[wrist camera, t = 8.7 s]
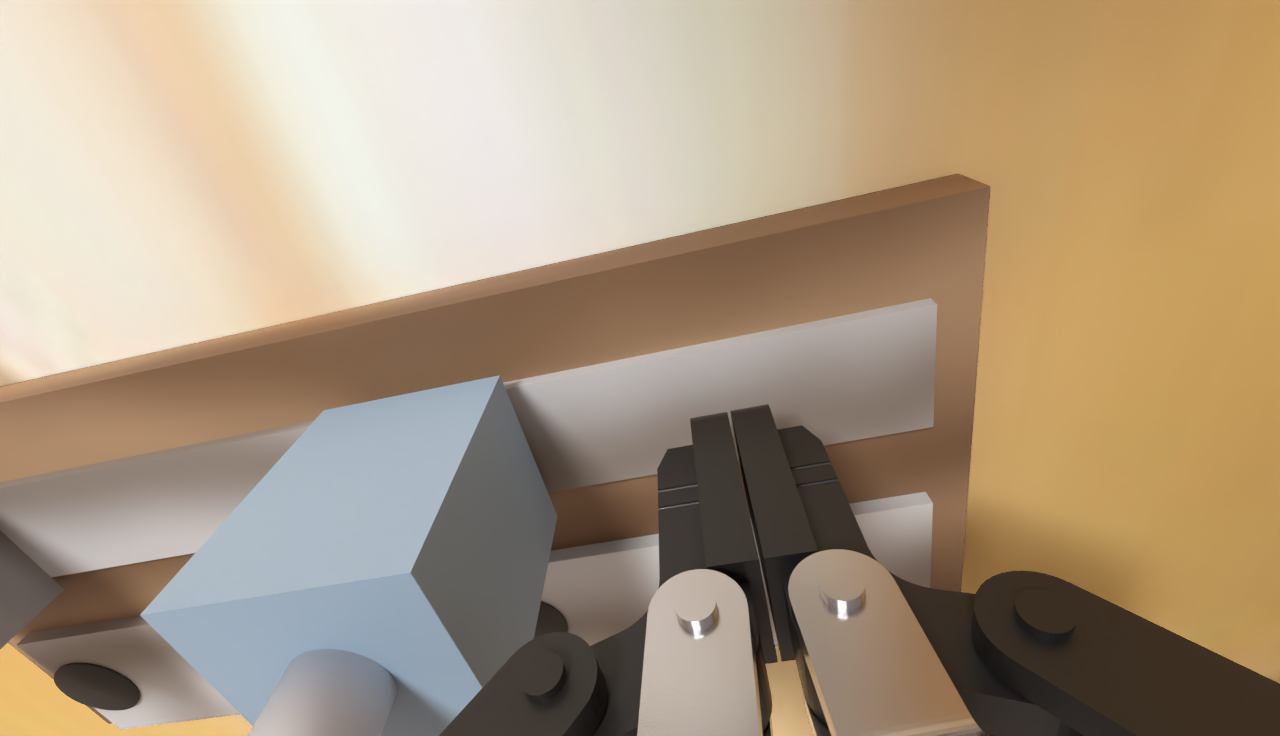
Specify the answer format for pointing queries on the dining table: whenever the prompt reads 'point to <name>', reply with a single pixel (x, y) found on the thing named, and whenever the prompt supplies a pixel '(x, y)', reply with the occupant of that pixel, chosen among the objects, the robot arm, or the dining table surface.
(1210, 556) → the dining table surface
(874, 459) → the board
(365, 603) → the pointer block
